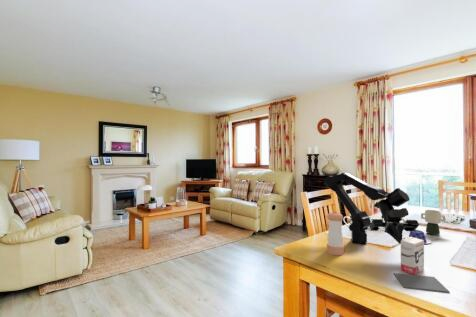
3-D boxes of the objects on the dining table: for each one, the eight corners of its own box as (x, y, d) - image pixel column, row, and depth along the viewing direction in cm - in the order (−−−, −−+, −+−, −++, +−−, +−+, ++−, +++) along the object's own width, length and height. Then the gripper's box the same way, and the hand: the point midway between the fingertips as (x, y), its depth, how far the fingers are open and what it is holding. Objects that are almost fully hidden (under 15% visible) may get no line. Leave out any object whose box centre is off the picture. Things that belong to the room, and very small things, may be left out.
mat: (403, 287, 86) (403, 286, 86) (393, 273, 96) (393, 272, 96) (449, 292, 83) (449, 291, 83) (434, 277, 93) (434, 276, 93)
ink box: (414, 275, 95) (414, 243, 95) (400, 270, 99) (400, 240, 99) (424, 269, 100) (424, 239, 100) (410, 265, 104) (410, 236, 104)
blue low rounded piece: (404, 236, 142) (404, 226, 142) (431, 240, 135) (431, 230, 135) (403, 242, 132) (403, 232, 132) (432, 246, 125) (432, 236, 125)
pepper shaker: (331, 248, 123) (331, 208, 123) (346, 252, 118) (346, 210, 118) (324, 252, 118) (323, 211, 118) (339, 256, 113) (339, 213, 113)
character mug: (445, 234, 144) (445, 211, 144) (444, 237, 138) (444, 213, 138) (421, 230, 151) (421, 208, 151) (420, 233, 146) (420, 210, 145)
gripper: (372, 201, 114) (384, 233, 103) (416, 201, 112) (433, 234, 101) (365, 214, 121) (375, 246, 111) (406, 215, 120) (421, 247, 109)
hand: (400, 243), depth 107 cm, fingers closed
